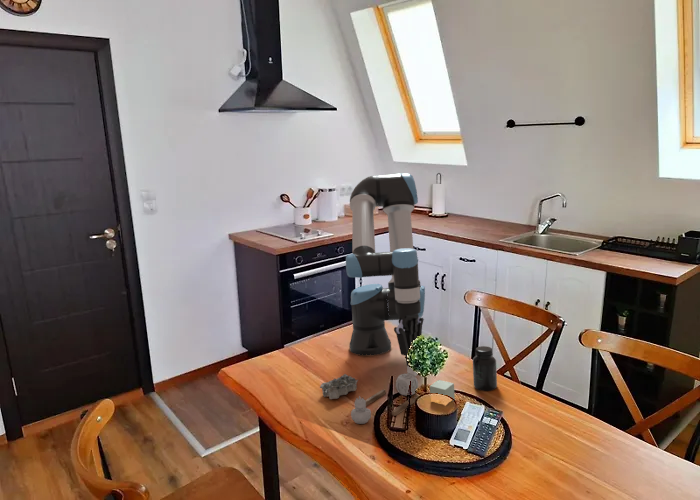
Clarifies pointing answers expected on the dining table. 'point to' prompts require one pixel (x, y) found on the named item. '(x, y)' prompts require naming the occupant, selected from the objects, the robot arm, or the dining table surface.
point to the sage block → (443, 388)
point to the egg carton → (339, 386)
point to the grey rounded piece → (360, 412)
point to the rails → (395, 411)
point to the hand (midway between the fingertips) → (412, 374)
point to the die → (406, 383)
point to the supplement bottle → (484, 369)
